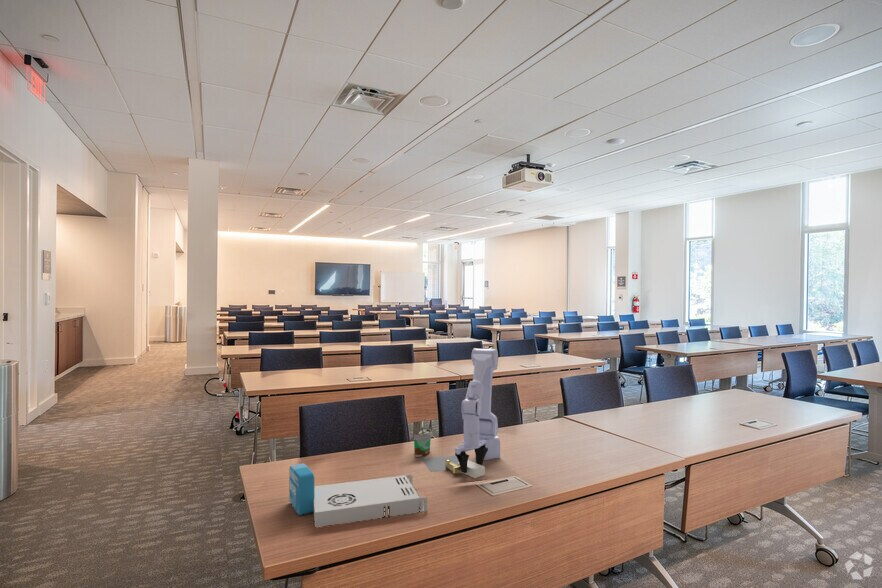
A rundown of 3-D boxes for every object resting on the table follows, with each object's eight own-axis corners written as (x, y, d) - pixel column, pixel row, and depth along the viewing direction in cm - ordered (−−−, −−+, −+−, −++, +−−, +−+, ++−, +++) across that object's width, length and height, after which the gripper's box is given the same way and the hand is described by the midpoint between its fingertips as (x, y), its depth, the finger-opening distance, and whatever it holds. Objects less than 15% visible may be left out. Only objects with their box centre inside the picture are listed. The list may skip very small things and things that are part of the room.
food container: (428, 461, 183) (428, 435, 183) (413, 460, 185) (413, 435, 185) (435, 450, 195) (435, 427, 195) (421, 450, 197) (421, 426, 197)
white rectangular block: (467, 469, 173) (467, 459, 173) (484, 476, 166) (484, 466, 167) (457, 472, 170) (457, 462, 170) (474, 479, 163) (474, 469, 163)
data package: (289, 502, 147) (289, 464, 147) (303, 499, 149) (303, 461, 149) (299, 517, 137) (299, 476, 137) (314, 513, 139) (314, 473, 139)
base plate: (459, 457, 187) (459, 454, 187) (471, 469, 174) (471, 467, 174) (421, 461, 183) (421, 458, 183) (430, 474, 169) (430, 471, 169)
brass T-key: (443, 468, 172) (443, 460, 172) (450, 466, 174) (449, 458, 174) (454, 475, 166) (454, 466, 166) (461, 473, 167) (461, 465, 167)
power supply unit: (427, 513, 140) (427, 496, 140) (314, 530, 130) (314, 512, 130) (412, 488, 158) (412, 474, 158) (312, 502, 148) (312, 486, 148)
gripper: (478, 426, 176) (478, 461, 176) (449, 433, 167) (449, 471, 167) (491, 430, 171) (491, 467, 170) (462, 438, 161) (462, 477, 161)
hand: (471, 469), depth 168 cm, fingers open, 7 cm apart
